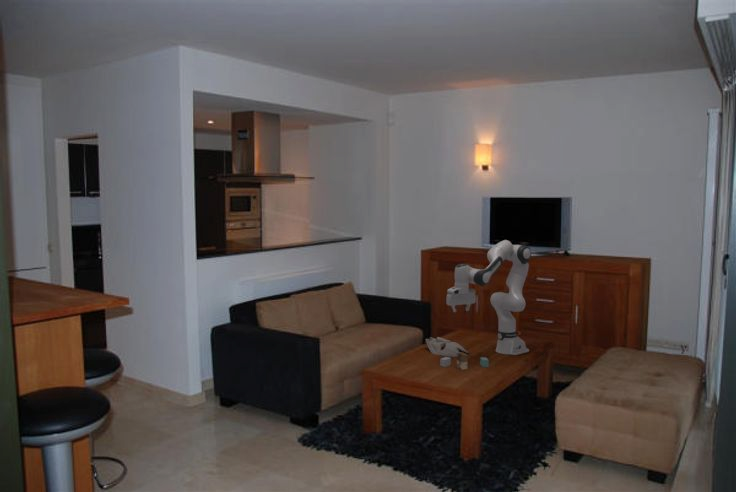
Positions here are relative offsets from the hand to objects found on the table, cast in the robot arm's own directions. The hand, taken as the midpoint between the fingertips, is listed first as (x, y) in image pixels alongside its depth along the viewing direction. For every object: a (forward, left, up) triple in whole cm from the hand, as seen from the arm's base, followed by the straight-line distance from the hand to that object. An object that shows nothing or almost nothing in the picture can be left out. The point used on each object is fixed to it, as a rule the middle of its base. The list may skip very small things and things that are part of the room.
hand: (461, 311), depth 385 cm
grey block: (+15, +6, -31) cm, 35 cm away
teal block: (-6, +17, -31) cm, 36 cm away
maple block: (+9, +15, -31) cm, 36 cm away
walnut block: (+9, +15, -27) cm, 32 cm away
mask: (-2, -20, -32) cm, 38 cm away
